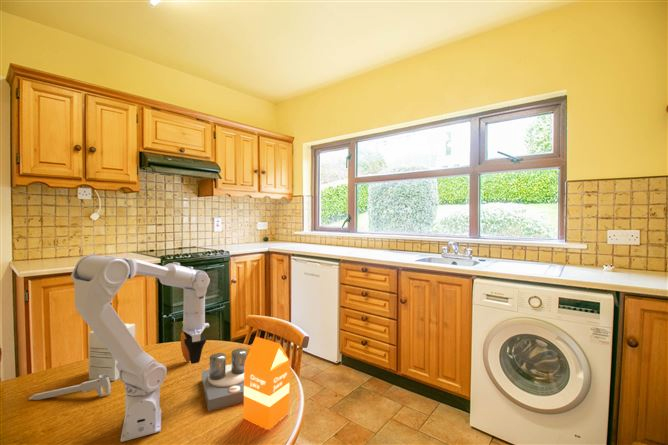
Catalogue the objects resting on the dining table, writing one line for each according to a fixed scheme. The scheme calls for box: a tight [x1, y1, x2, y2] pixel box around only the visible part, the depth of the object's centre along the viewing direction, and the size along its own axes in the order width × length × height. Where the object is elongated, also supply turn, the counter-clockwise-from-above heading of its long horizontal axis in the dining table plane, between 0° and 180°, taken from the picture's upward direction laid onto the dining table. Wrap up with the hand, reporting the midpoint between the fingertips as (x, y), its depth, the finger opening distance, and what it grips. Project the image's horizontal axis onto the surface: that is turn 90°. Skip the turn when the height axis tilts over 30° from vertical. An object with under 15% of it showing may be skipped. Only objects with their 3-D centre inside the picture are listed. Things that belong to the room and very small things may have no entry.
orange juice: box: [243, 336, 291, 429], centre depth 80 cm, size 8×9×20 cm
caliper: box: [27, 374, 112, 401], centre depth 87 cm, size 20×1×6 cm, turn 98°
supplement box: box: [88, 323, 136, 382], centre depth 100 cm, size 9×9×15 cm
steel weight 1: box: [208, 352, 227, 380], centre depth 92 cm, size 4×4×6 cm
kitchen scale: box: [201, 364, 244, 412], centre depth 93 cm, size 17×14×4 cm
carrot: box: [180, 321, 190, 363], centre depth 108 cm, size 5×5×15 cm
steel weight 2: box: [230, 347, 248, 374], centre depth 96 cm, size 4×4×6 cm
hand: (193, 357), depth 90 cm, fingers open, 7 cm apart
